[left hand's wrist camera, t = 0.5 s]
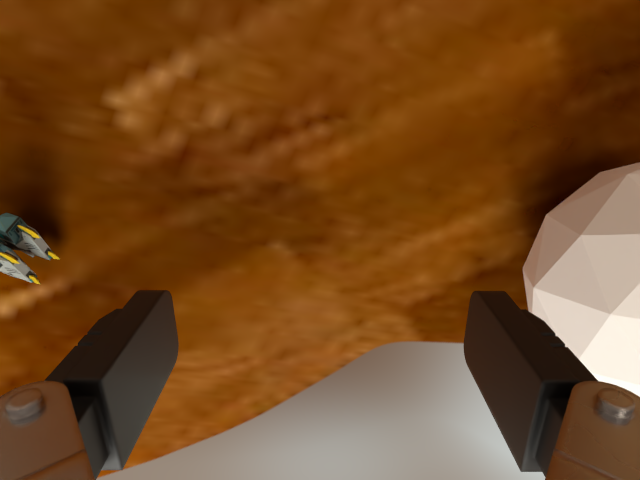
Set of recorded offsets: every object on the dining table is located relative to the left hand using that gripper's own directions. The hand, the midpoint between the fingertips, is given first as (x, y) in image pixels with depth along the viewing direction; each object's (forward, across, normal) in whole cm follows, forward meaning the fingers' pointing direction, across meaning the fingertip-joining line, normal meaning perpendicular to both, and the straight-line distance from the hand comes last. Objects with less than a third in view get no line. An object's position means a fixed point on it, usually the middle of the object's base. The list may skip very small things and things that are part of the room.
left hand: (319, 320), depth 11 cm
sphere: (+28, -26, +9) cm, 40 cm away
